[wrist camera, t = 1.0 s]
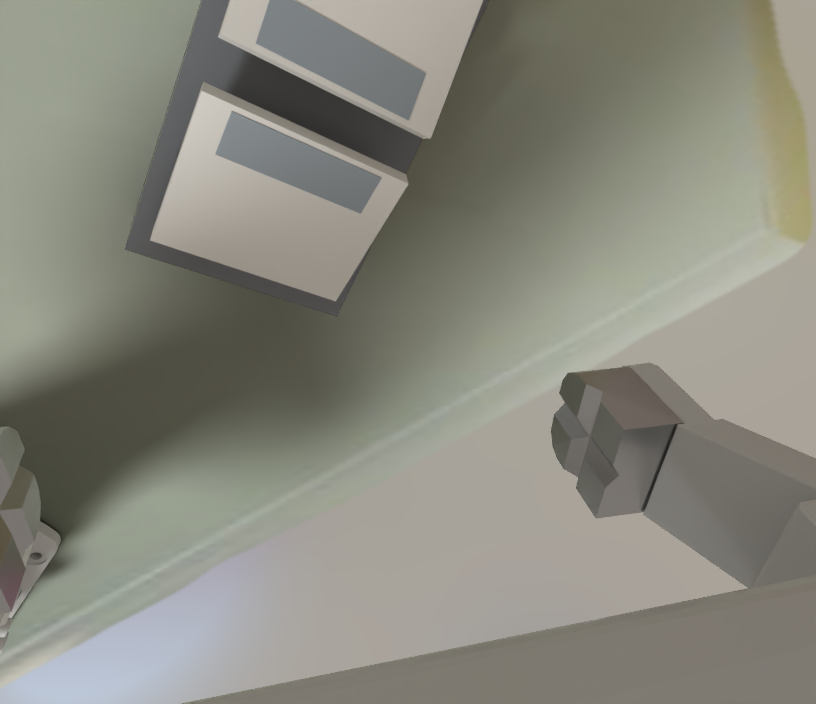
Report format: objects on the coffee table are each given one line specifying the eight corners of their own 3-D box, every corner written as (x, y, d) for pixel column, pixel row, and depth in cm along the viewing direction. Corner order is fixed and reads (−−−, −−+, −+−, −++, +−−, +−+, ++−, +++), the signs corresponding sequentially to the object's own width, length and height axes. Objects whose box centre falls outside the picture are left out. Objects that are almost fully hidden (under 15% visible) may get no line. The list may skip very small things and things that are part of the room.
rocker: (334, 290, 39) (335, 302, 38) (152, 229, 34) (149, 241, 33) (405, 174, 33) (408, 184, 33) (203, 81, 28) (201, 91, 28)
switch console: (325, 278, 45) (343, 327, 39) (135, 213, 39) (122, 258, 33) (478, -56, 36) (532, -58, 30) (264, -205, 30) (278, -244, 24)
